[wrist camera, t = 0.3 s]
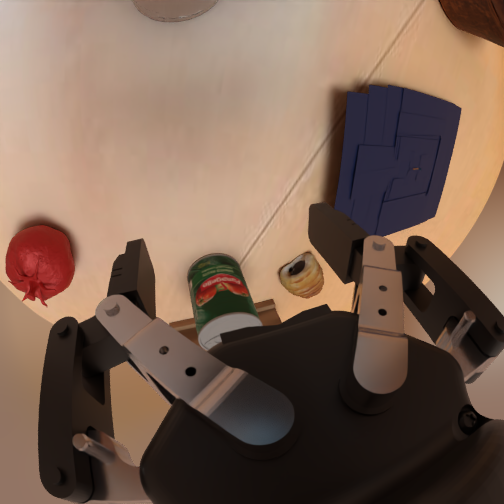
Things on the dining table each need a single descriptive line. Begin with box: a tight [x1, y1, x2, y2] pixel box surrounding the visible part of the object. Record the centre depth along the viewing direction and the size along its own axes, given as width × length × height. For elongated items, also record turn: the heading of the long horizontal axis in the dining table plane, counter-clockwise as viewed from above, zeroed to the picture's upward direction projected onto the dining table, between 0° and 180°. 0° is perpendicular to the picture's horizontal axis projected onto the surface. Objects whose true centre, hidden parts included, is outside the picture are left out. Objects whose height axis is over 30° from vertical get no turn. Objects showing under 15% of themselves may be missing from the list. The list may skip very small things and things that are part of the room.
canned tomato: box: [187, 254, 262, 351], centre depth 35 cm, size 8×8×11 cm
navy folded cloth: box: [334, 85, 462, 237], centre depth 36 cm, size 24×30×4 cm
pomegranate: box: [6, 225, 75, 308], centre depth 25 cm, size 10×10×9 cm
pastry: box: [280, 253, 324, 298], centre depth 44 cm, size 9×7×4 cm
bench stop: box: [170, 299, 282, 351], centre depth 44 cm, size 8×18×9 cm, turn 94°
